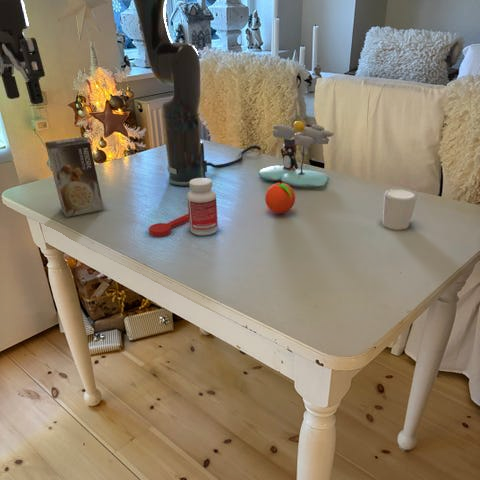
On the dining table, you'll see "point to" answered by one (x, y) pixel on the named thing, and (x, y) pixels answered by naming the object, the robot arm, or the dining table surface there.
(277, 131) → the penguin figurine
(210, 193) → the pill bottle
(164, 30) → the robot arm
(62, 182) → the coffee box
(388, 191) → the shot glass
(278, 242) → the dining table surface
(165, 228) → the spoon
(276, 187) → the clementine
